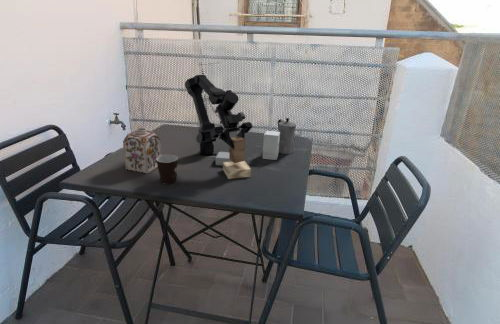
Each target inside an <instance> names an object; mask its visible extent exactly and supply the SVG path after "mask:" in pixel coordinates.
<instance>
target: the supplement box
mask: <svg viewBox="0 0 500 324" xmlns="http://www.w3.org/2000/svg"><path fill="white" fill-rule="evenodd" d="M279 139H280V132H279V131H275V130H272V131H271V130H265V131H264V134H263V141H262V142H263V143H262V159H263V160H264V159H265V160H271V161H273V160H274V161H277V160H278V157H279Z"/></svg>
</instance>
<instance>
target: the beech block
mask: <svg viewBox="0 0 500 324" xmlns="http://www.w3.org/2000/svg"><path fill="white" fill-rule="evenodd" d="M222 171H223V172H224V174H225V176H226V178H227V179H228V180H232V179H241V178H251V176H252V169H251V167H250V165H249V164H248V163H247V162H246V161H245V160H244V161H242V162H238V163H234V162H223V165H222Z"/></svg>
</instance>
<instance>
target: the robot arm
mask: <svg viewBox="0 0 500 324" xmlns="http://www.w3.org/2000/svg"><path fill="white" fill-rule="evenodd" d="M184 87H185V89H186V92H187V94H189V96H190V97H192V100H193V105H194V107H195V112H196V115H197V117H198V122H199V127H198V134H197V135H196V136H195V139H196V140H195V141H196V142H197V143H198V144H199V155H200V156H213V155H214V153H215V145H214V143H215V142H216V141H217V139H219V140H222V141H223V142H224V143H225V144H227V145H228V146H230V147H231V148H232V149H233V148H234V145H233V142H232V140H231V138H232V137H231V134H230V133H234V132H237V134H236V137H239V136H240V137H242V138H244V139H245V134H247V133H249V132H250V131H251V129H253V127H254V126H253V123H252V122H250V121H245V122H243V120H245V119H246V115H245V113H244V111H240V112H238V113H236V114H235V113H233V112H232V110H233V109H234V108H235V106H236V105H237V103H238V102H239V100H240V99H239V96H238V94H236V93H235V92H233V91H232V90H231V89H226V90H224V89H222V88H219V87H217V86H215V85H214V84H213V83H212V82H211V81H210V80H209V79H208V77H207V76H206V75H205V74H195V75H194V76H192V77H191V78H187V79H186V80H185V82H184ZM203 91H204V92H205V93H206V95H208V101H209V102H210V103H211V105H216V106H215V109H214V110H215V111H214V113H215V114H218V117H219V119H220V120H219V123H220V124H222V125H219V126H216V125H215V123H212V122H211V121H210V119H209V115H208V112H207V108H206V106H205V101H204V97H203ZM240 122H242V123H241V124H240ZM238 125H239V126H238ZM245 140H246V139H245Z"/></svg>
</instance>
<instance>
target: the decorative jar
mask: <svg viewBox="0 0 500 324" xmlns="http://www.w3.org/2000/svg"><path fill="white" fill-rule="evenodd" d="M122 145H123V156H124V164H125V169H126V170H127V169H128V170H127V171H131V170H132V171H133V172H136V171H137V173H142V172H143V173H142V174H149V173H151V172H152V171H154V170H156V169H157V168H158V165H157V161H156V158H157V157H159V156H162V155H163V154H162V145H161V137H160V136H159V135H158V134H157V133H156V132H154V131H153V130H147V128H145V127H139V128H135V129H134V130H133V131H131V132H128V133H127V134H126V136H125V138H124V139H123V141H122Z"/></svg>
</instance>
